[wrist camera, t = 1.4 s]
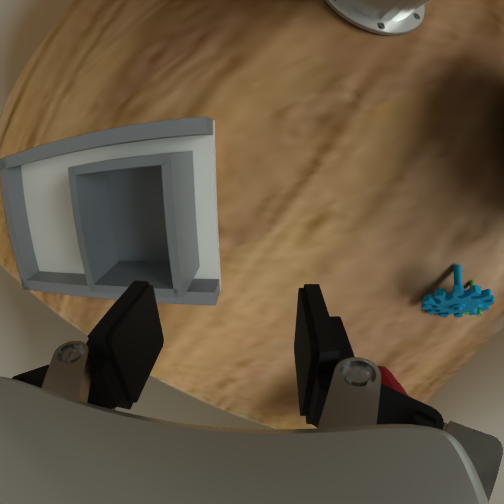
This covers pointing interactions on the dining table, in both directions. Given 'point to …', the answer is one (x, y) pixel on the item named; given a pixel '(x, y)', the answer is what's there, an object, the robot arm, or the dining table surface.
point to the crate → (137, 222)
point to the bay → (61, 213)
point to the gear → (458, 299)
